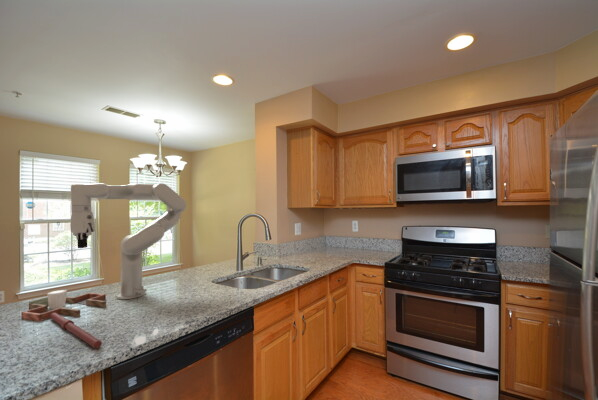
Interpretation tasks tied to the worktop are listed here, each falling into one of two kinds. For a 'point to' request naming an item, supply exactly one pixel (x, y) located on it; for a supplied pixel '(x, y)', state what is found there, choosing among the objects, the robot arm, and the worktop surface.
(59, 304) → the white cylinder
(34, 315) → the box
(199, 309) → the worktop surface
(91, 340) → the red collared rod
